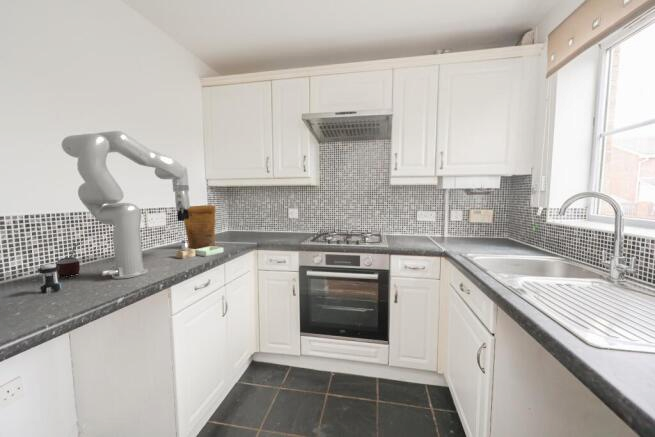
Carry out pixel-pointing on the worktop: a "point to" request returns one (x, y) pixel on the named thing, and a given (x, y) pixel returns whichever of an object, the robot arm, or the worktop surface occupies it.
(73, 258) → the manual coffee grinder
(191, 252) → the socket block
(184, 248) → the steel pin
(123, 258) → the robot arm
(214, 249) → the tray
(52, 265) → the black toy figure
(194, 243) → the pancake mix bag
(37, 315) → the worktop surface
